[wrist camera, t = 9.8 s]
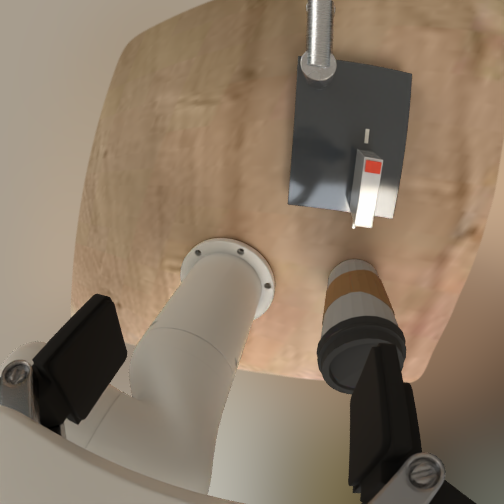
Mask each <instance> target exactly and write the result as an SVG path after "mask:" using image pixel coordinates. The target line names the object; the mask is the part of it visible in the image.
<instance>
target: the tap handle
mask: <svg viewBox="0 0 504 504" xmlns="http://www.w3.org/2000/svg"><path fill="white" fill-rule="evenodd" d="M382 165H383V160H382V159H381V158H380V157H379V156H378V155H376V154H375V153H374V152H372V151H366V150H360V149H357V155H356V163H355V171H354V178H353V185H352V192H351V199H350V206H349V208H350V212H351V216H352V219H353V223H354V226H359V227H366V228H372V224H373V219H374V214H375V208H376V203H377V197H378V191H379V185H380V179H381V172H382Z"/></svg>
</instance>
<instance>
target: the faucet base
mask: <svg viewBox="0 0 504 504" xmlns="http://www.w3.org/2000/svg"><path fill="white" fill-rule="evenodd" d="M301 57H302V56H298V66H297V84H296V101H295V116H294V131H293V145H292V158H291V171H290V183H289V195H288V204H289V205H298V206H306V207H314V208H321V209H329V210H336V211H343V212H350V208H349V206H350V199H351V192H352V185H353V178H354V171H355V163H356V155H357V149H360V150H366V151H372V152H374V153H375V154H376V155H378V156H379V157H380V158H381V159H382V160H383V165H382V172H381V179H380V185H379V191H378V197H377V203H376V208H375V214H374V216H377V217H384V218H390V219H393V215H394V211H395V206H396V200H397V195H398V190H399V184H400V178H401V172H402V166H403V159H404V152H405V145H406V137H407V129H408V119H409V109H410V98H411V84H412V74H411V73H407V72H402V71H398V70H393V69H389V68H384V67H379V66H373V65H368V64H362V63H356V62H349V61H342V60H336V62H337V69H336V71H335V74H334V76H333V78H332V80H331V82H330V84H329V85H328V86H327V87H326V88H324V89H315V88H312V87H311V86H310V85H309V84H308V83H307V81H306V79H305V76H304V74H303V71H302V69H301V65H300V61H301ZM350 213H351V212H350ZM355 227H356V226H354V223H353V224H352V228H353V229H355Z"/></svg>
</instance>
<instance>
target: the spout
mask: <svg viewBox="0 0 504 504" xmlns="http://www.w3.org/2000/svg"><path fill="white" fill-rule="evenodd" d="M306 10H307V34H306V52H305V53H304V54H303V55H302V57H301V61H300V65H301V69H302V71H303V74H304V76H305V79H306V81H307V83H308V84H309V85H310V86H311V87H312V88H315V89H324V88H326V87H327V86H328V85H329V84H330V82H331V80H332V78H333V76H334V74H335V71H336V69H337V62H336V59H335V57H334V55H333V32H334V16H335V6H334V2H333V1H332V0H308V3H307V5H306Z"/></svg>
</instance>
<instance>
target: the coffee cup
mask: <svg viewBox="0 0 504 504" xmlns="http://www.w3.org/2000/svg"><path fill="white" fill-rule="evenodd" d="M322 325H323V327H322V335H321V340H320V342H319V343H318V348H317V357H318V359H317V360H318V366H319V370H320V372H321V373H322V375H323V378H324V380H325V381H326V383H327V384H328V385H329V386H330V387H332V388H333V389H335V390H337V391H339V392H342V393H346V394H353V391H354V389H355V387H356V385H357V382H358V380H359V378H360V375H361V373H362V370H363V368H364V365H365V363H366V360H367V358H368V355H369V353H370V350H371V348H372V347H377V345H378V343H387V344H395V345H396V348H397V353H398V358H399V363H400V368H401V371H402V368H403V363H404V360H405V358H406V346H405V338H404V335H403V332H402V331H401V329H400V328H399V327H398V324H397V322H396V319H395V314H394V311H393V309H392V306H391V303H390V301H389V298H388V296H387V294H386V291H385V289H384V286H383V284H382V282H381V280H380V278H379V276H378V274H377V271H376V270H375V269H374V267H373V266H372V265H370V264H369V263H368V262H365V261H362V260H358V259H351V260H346V261H344V262H342V263H340V264H339V265H337V266H336V267H335V268H334V269H333V270H332V272H331V273H330V276H329V279H328V287H327V291H326V299H325V307H324V314H323V322H322Z"/></svg>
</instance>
